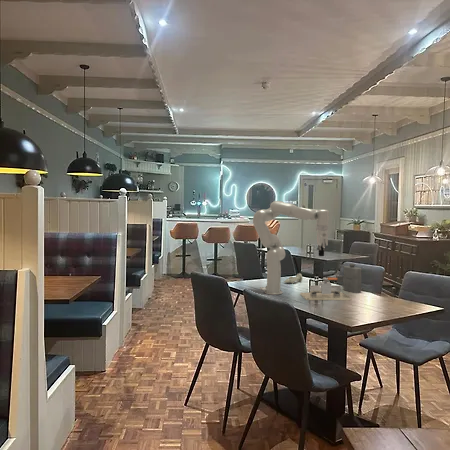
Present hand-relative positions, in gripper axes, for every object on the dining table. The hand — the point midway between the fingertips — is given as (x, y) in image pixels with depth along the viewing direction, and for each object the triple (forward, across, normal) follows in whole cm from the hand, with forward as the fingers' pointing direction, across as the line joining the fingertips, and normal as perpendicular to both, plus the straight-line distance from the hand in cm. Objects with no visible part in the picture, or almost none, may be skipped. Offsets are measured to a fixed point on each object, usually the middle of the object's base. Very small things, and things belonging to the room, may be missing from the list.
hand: (321, 255), depth 283 cm
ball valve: (+29, +5, -5) cm, 29 cm away
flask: (+29, +26, -31) cm, 50 cm away
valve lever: (+18, +5, -10) cm, 21 cm away
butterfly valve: (+30, +58, +5) cm, 65 cm away
